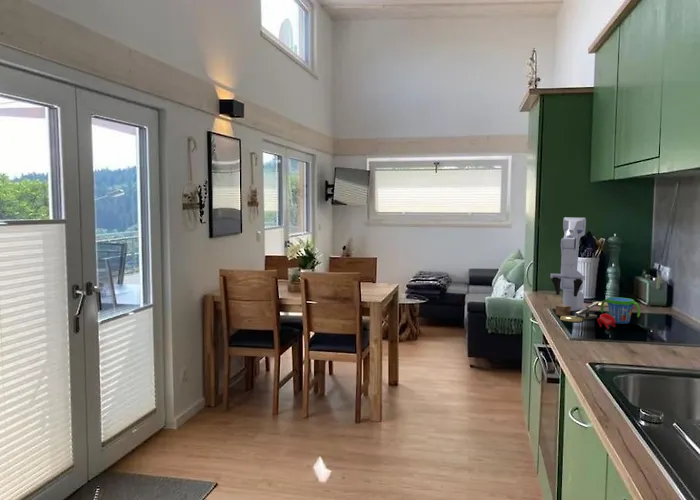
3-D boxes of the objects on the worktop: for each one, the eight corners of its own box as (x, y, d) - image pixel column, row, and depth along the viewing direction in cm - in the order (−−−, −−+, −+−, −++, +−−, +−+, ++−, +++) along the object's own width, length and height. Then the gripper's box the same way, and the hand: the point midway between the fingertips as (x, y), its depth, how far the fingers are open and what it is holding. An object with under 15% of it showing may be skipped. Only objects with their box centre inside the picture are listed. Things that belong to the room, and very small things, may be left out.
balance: (600, 312, 260) (600, 298, 259) (617, 316, 252) (618, 302, 251) (555, 319, 245) (556, 304, 244) (572, 323, 237) (573, 307, 237)
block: (562, 314, 257) (562, 304, 257) (570, 315, 253) (570, 306, 253) (555, 314, 255) (555, 305, 254) (563, 316, 251) (564, 306, 250)
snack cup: (595, 321, 242) (596, 297, 241) (607, 317, 249) (608, 295, 248) (632, 327, 230) (633, 303, 229) (643, 324, 237) (645, 300, 236)
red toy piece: (605, 322, 224) (617, 314, 224) (594, 315, 229) (606, 307, 229) (608, 335, 228) (620, 328, 228) (597, 328, 233) (609, 320, 234)
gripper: (548, 263, 247) (546, 294, 248) (581, 265, 238) (580, 297, 238) (554, 263, 253) (552, 293, 253) (587, 265, 243) (585, 296, 243)
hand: (566, 295), depth 246 cm, fingers open, 7 cm apart
